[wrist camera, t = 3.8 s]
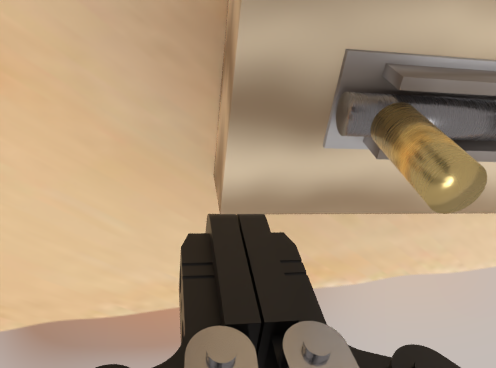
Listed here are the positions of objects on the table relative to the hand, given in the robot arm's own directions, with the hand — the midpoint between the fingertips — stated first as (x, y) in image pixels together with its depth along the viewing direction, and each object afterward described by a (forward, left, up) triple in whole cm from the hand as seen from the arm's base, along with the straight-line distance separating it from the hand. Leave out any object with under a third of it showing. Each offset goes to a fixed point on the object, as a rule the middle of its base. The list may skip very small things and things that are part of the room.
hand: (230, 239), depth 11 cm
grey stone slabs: (0, +14, -14) cm, 20 cm away
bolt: (0, +11, -9) cm, 14 cm away
